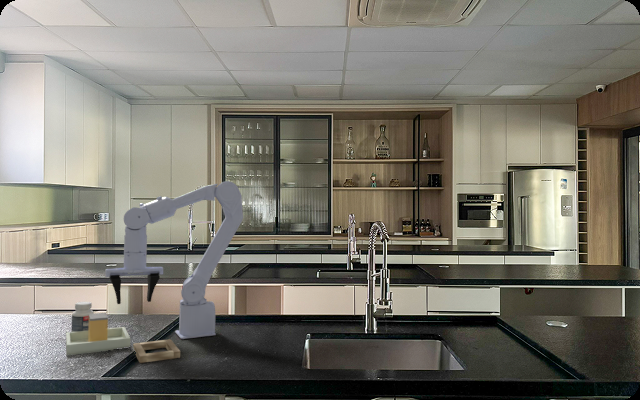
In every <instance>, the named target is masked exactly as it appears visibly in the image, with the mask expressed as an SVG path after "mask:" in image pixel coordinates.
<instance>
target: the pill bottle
mask: <svg viewBox="0 0 640 400" xmlns="http://www.w3.org/2000/svg"><path fill="white" fill-rule="evenodd" d="M92 305H93V304H92V302H91V301H78V302H75V304H74V309H75V311H73V312H72V314H71V329H70V330H71V331H70V332H78V331H88V325H89V314H94V311H93V310H92Z"/></svg>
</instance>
